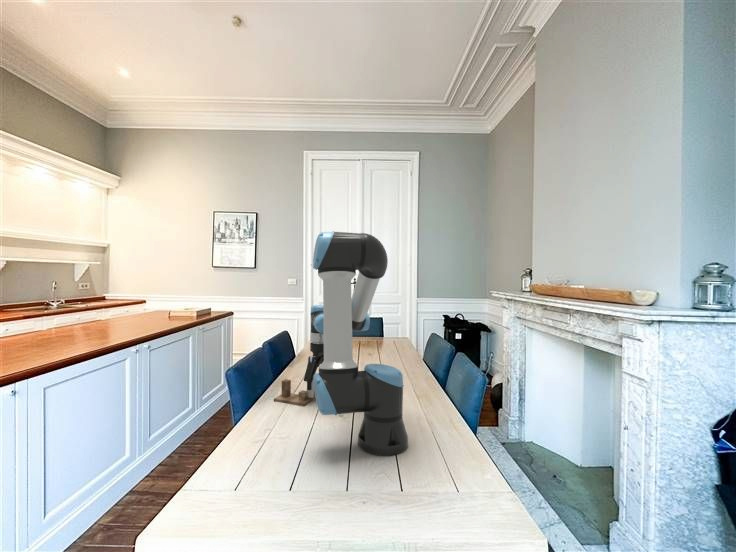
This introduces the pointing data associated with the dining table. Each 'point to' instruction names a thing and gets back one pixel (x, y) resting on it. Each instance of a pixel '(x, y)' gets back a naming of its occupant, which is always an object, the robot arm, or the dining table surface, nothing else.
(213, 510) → the dining table surface
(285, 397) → the peg stand
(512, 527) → the dining table surface
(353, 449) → the dining table surface
